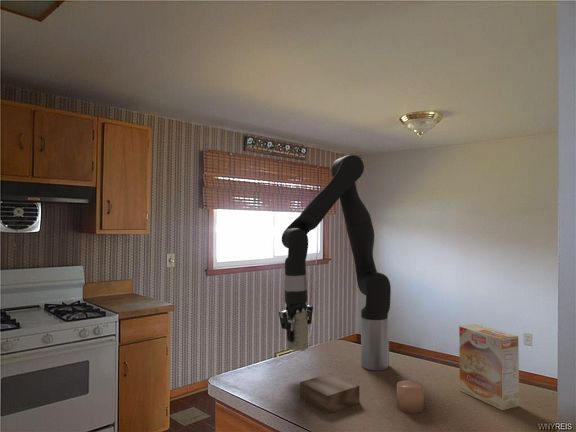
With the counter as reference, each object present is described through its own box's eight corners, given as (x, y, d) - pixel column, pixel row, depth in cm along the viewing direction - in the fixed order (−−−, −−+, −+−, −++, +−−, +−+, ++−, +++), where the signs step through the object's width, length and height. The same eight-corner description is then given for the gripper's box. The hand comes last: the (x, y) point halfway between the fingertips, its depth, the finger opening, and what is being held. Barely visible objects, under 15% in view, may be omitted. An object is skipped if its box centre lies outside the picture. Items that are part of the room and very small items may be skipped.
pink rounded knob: (405, 399, 118) (405, 378, 118) (428, 407, 113) (428, 385, 113) (392, 407, 113) (391, 385, 113) (415, 415, 108) (414, 392, 108)
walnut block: (330, 389, 126) (330, 373, 126) (359, 403, 116) (359, 385, 116) (299, 399, 119) (299, 382, 119) (327, 415, 109) (327, 395, 109)
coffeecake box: (458, 390, 125) (458, 325, 125) (476, 386, 127) (475, 323, 128) (501, 411, 111) (501, 338, 111) (520, 406, 114) (519, 335, 114)
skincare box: (309, 348, 136) (308, 311, 137) (302, 351, 133) (301, 313, 133) (292, 345, 140) (291, 309, 140) (285, 349, 136) (284, 311, 136)
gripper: (303, 284, 144) (304, 333, 144) (272, 290, 135) (273, 342, 134) (318, 286, 139) (320, 337, 139) (287, 292, 129) (289, 347, 129)
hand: (297, 339), depth 136 cm, fingers closed on skincare box, 5 cm apart
